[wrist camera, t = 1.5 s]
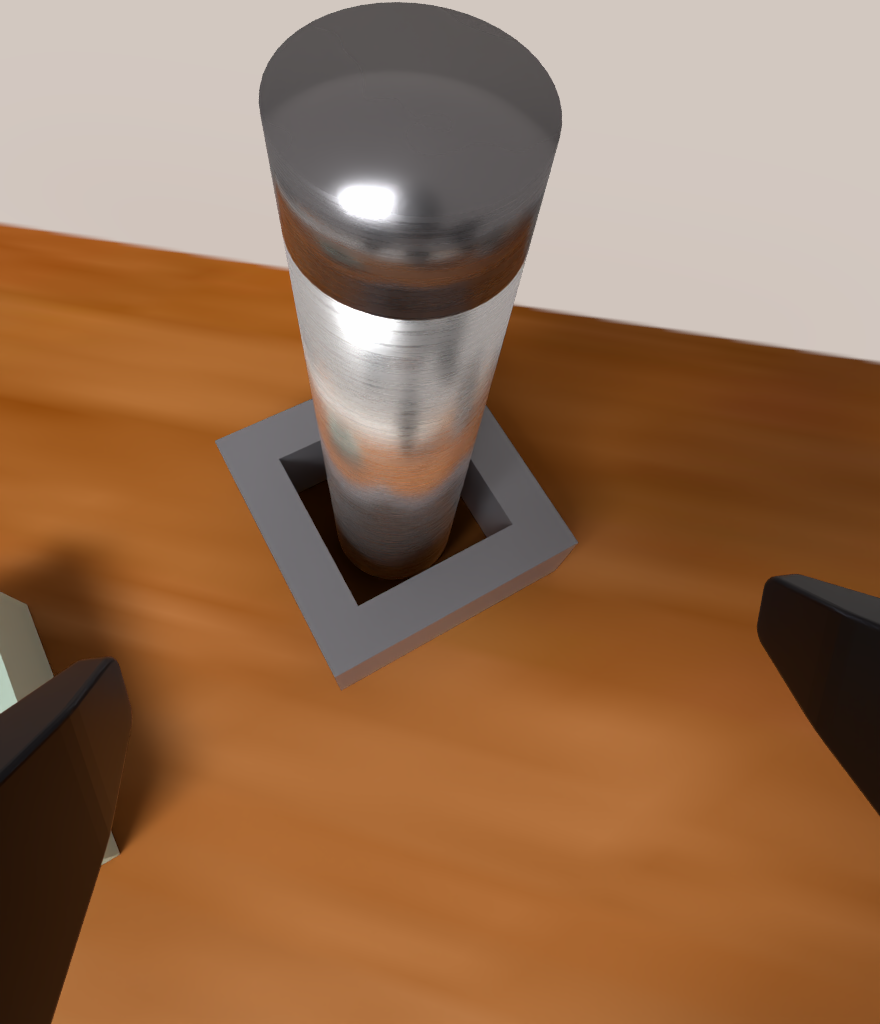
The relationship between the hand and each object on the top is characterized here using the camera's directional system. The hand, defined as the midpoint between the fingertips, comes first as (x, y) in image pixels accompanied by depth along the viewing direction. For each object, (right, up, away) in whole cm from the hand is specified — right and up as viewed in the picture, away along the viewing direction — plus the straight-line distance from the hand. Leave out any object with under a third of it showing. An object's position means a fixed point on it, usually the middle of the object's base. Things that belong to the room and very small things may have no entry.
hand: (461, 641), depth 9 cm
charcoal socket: (-2, +1, +14) cm, 15 cm away
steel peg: (-2, +1, +14) cm, 15 cm away
